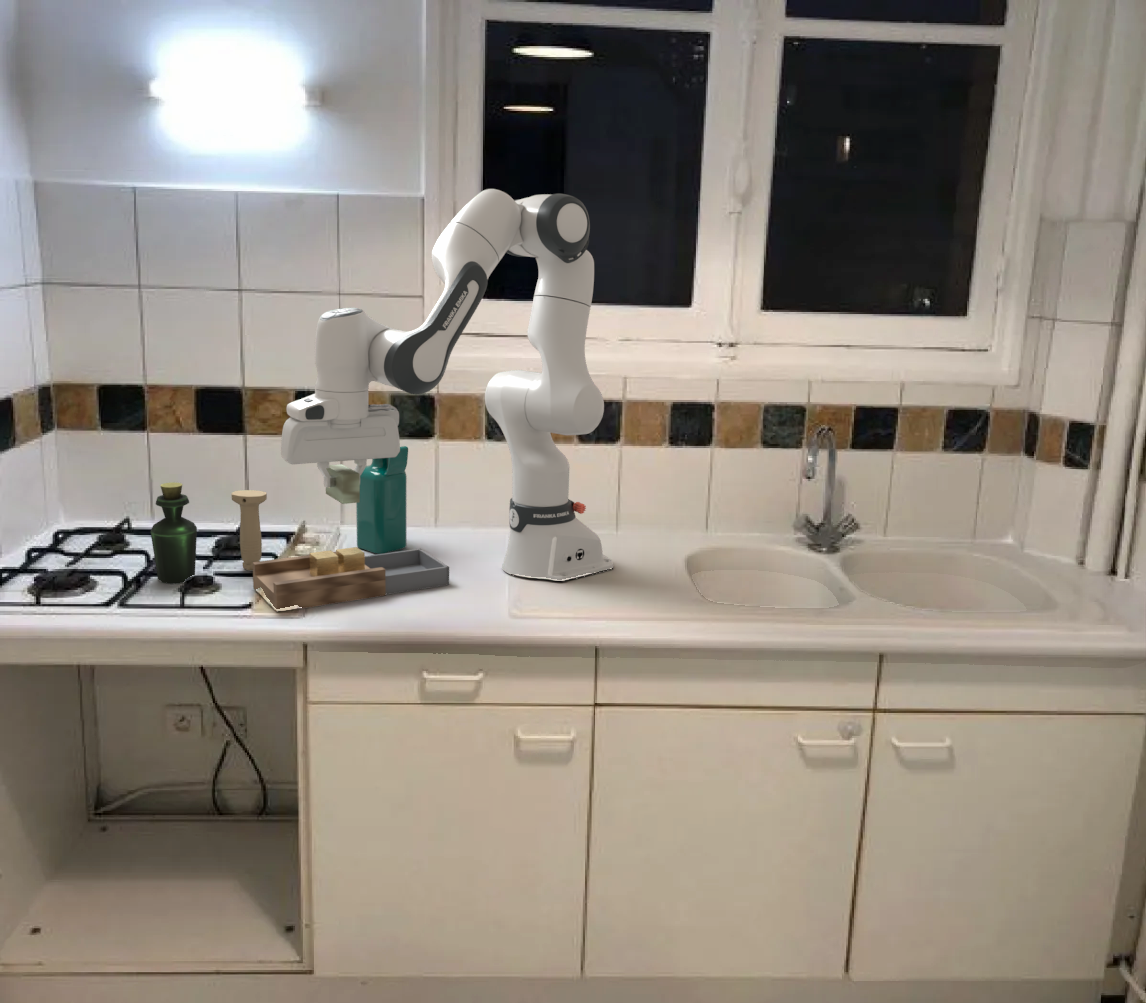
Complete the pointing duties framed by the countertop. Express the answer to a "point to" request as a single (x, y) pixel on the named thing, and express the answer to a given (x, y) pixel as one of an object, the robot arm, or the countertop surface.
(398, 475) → the pitcher
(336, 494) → the bar
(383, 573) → the slot board
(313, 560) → the brass block
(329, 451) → the robot arm
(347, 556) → the brass block
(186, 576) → the potion bottle
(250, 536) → the handle
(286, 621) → the countertop surface
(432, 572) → the tray
